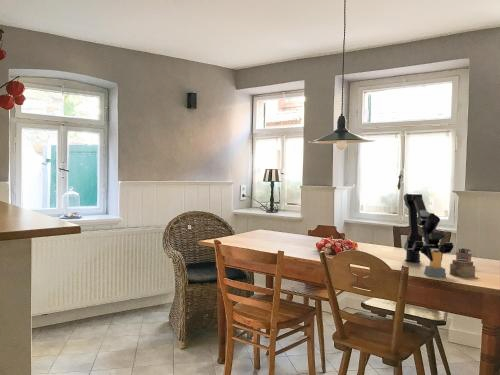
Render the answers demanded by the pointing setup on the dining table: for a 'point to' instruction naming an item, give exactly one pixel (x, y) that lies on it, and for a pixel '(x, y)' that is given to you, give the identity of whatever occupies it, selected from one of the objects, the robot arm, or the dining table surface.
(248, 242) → the dining table surface
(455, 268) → the upper dock
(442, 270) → the lower dock
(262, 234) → the dining table surface
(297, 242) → the dining table surface
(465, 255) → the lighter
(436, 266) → the plug
